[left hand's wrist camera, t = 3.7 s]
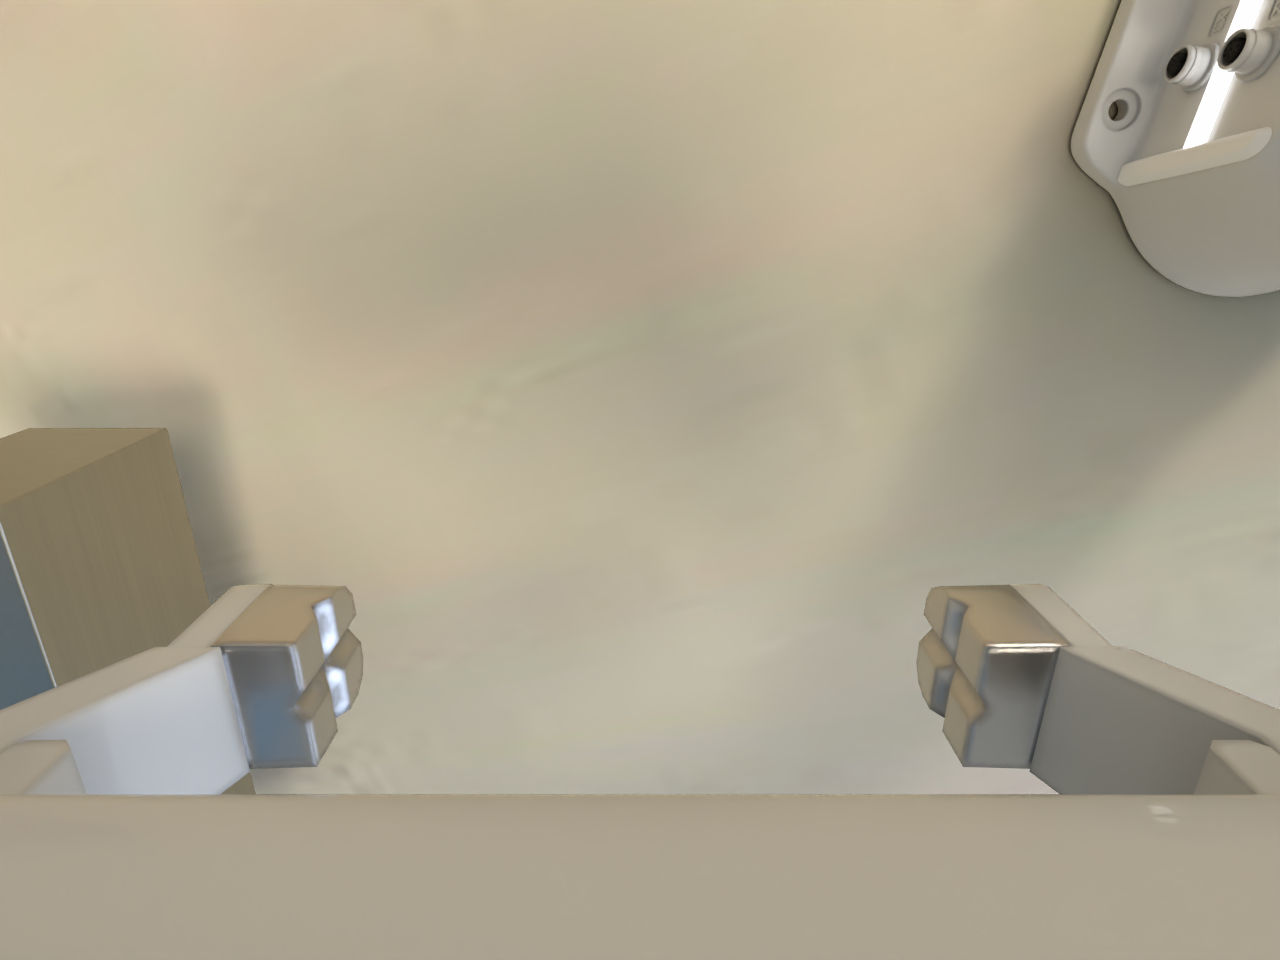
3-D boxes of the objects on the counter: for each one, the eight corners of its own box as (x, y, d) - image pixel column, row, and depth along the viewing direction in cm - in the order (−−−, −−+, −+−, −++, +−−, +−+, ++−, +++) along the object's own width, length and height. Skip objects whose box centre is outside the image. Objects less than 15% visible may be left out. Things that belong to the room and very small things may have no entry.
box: (28, 427, 31) (-197, 508, 22) (167, 427, 31) (-7, 508, 22) (165, 866, 39) (39, 1040, 31) (273, 866, 39) (176, 1040, 31)
